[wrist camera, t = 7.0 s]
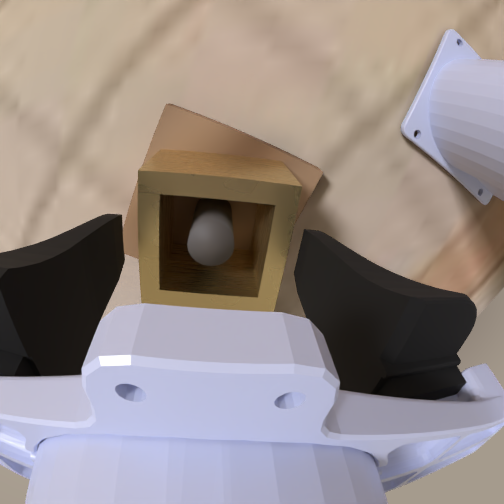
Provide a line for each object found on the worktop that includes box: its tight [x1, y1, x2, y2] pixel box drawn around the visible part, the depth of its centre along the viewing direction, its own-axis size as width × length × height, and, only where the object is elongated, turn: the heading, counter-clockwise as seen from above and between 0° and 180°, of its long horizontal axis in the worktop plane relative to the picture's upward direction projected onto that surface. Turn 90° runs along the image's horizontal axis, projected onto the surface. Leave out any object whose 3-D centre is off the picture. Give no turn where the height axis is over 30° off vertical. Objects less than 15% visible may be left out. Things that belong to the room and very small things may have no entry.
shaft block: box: [123, 104, 323, 266], centre depth 14 cm, size 8×8×4 cm
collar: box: [138, 149, 302, 312], centre depth 13 cm, size 6×6×4 cm
